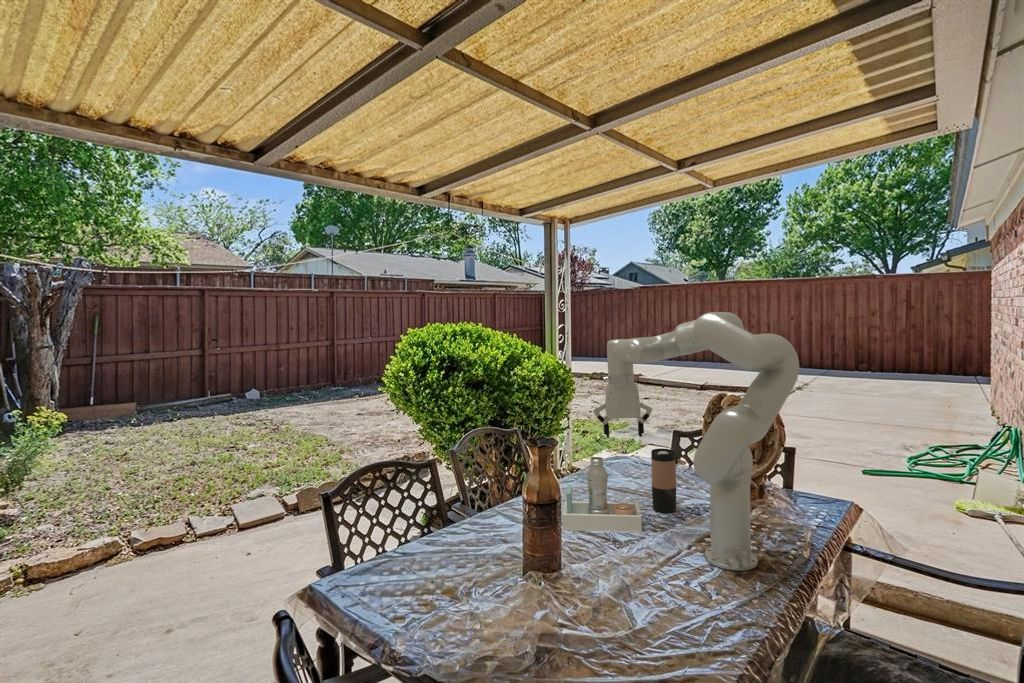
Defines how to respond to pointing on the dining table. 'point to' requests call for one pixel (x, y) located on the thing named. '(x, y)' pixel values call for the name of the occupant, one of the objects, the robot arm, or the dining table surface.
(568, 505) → the pusher
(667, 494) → the travel mug
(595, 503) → the plastic bottle
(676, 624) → the dining table surface
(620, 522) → the white open tray
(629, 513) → the terracotta jar
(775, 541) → the dining table surface
